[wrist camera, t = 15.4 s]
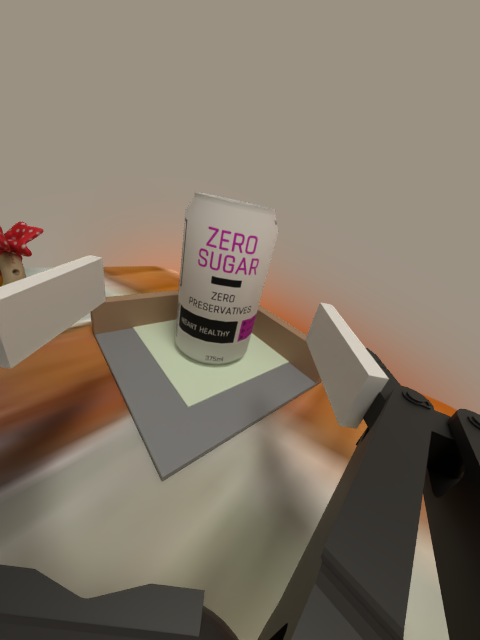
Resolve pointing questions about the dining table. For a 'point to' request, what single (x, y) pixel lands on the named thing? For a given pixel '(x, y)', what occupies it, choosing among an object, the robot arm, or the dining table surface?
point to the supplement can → (222, 276)
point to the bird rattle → (15, 251)
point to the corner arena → (196, 377)
